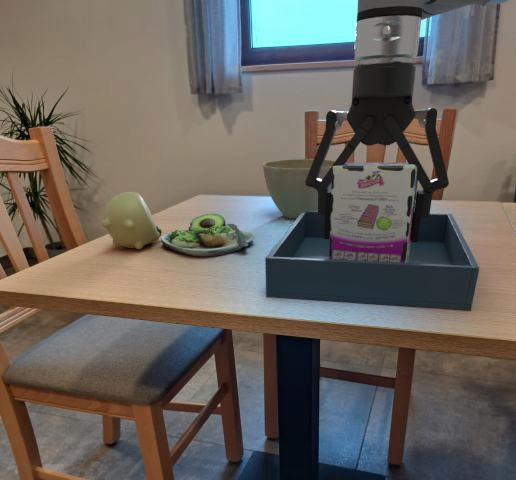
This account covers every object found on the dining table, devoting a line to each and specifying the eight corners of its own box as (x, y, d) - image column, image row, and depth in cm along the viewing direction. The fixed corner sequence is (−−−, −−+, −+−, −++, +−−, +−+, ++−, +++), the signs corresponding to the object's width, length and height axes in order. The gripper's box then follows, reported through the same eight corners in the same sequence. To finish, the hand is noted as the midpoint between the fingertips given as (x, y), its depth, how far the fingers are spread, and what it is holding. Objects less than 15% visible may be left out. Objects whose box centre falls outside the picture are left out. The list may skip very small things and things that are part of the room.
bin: (446, 245, 87) (451, 213, 85) (471, 310, 60) (479, 268, 58) (302, 239, 94) (303, 210, 91) (266, 296, 67) (265, 257, 64)
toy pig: (159, 265, 93) (175, 221, 97) (131, 230, 82) (150, 182, 86) (118, 259, 96) (135, 217, 99) (85, 226, 85) (106, 179, 89)
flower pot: (254, 222, 109) (252, 167, 103) (276, 207, 124) (275, 158, 118) (330, 225, 103) (332, 168, 98) (343, 209, 119) (346, 158, 113)
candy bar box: (407, 277, 70) (421, 161, 62) (402, 288, 66) (417, 166, 58) (335, 270, 74) (340, 160, 66) (326, 280, 70) (331, 164, 62)
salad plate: (280, 246, 90) (279, 222, 87) (200, 266, 80) (198, 240, 78) (225, 229, 103) (223, 208, 101) (152, 244, 94) (149, 221, 92)
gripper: (283, 66, 56) (284, 241, 66) (495, 55, 51) (461, 248, 61) (294, 69, 63) (293, 229, 73) (484, 60, 57) (454, 234, 67)
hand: (370, 238), depth 67 cm, fingers closed on candy bar box, 11 cm apart
